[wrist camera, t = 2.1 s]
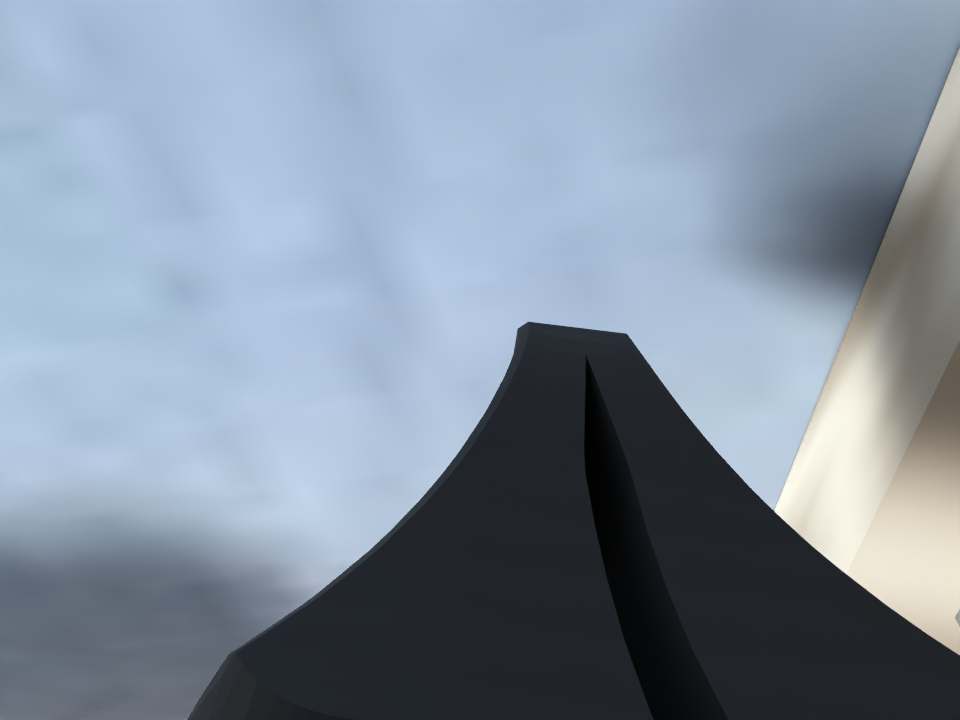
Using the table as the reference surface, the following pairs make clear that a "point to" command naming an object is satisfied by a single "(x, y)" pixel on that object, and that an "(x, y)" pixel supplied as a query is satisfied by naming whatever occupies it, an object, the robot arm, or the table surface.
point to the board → (897, 407)
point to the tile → (958, 618)
